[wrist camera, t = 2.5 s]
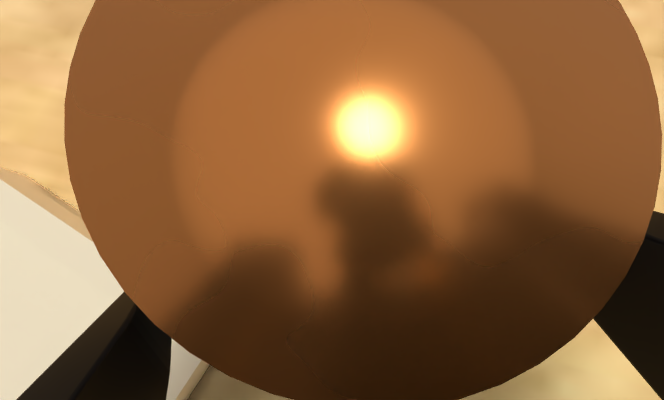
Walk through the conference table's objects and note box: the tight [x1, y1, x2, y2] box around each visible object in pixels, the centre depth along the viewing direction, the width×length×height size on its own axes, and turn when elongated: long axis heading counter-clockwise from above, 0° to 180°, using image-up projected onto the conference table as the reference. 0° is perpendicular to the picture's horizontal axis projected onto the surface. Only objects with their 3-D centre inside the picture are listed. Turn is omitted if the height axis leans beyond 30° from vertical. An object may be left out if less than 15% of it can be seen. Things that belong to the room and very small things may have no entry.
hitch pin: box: [65, 0, 662, 400], centre depth 10 cm, size 6×6×14 cm
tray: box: [0, 167, 210, 400], centre depth 14 cm, size 13×13×3 cm
